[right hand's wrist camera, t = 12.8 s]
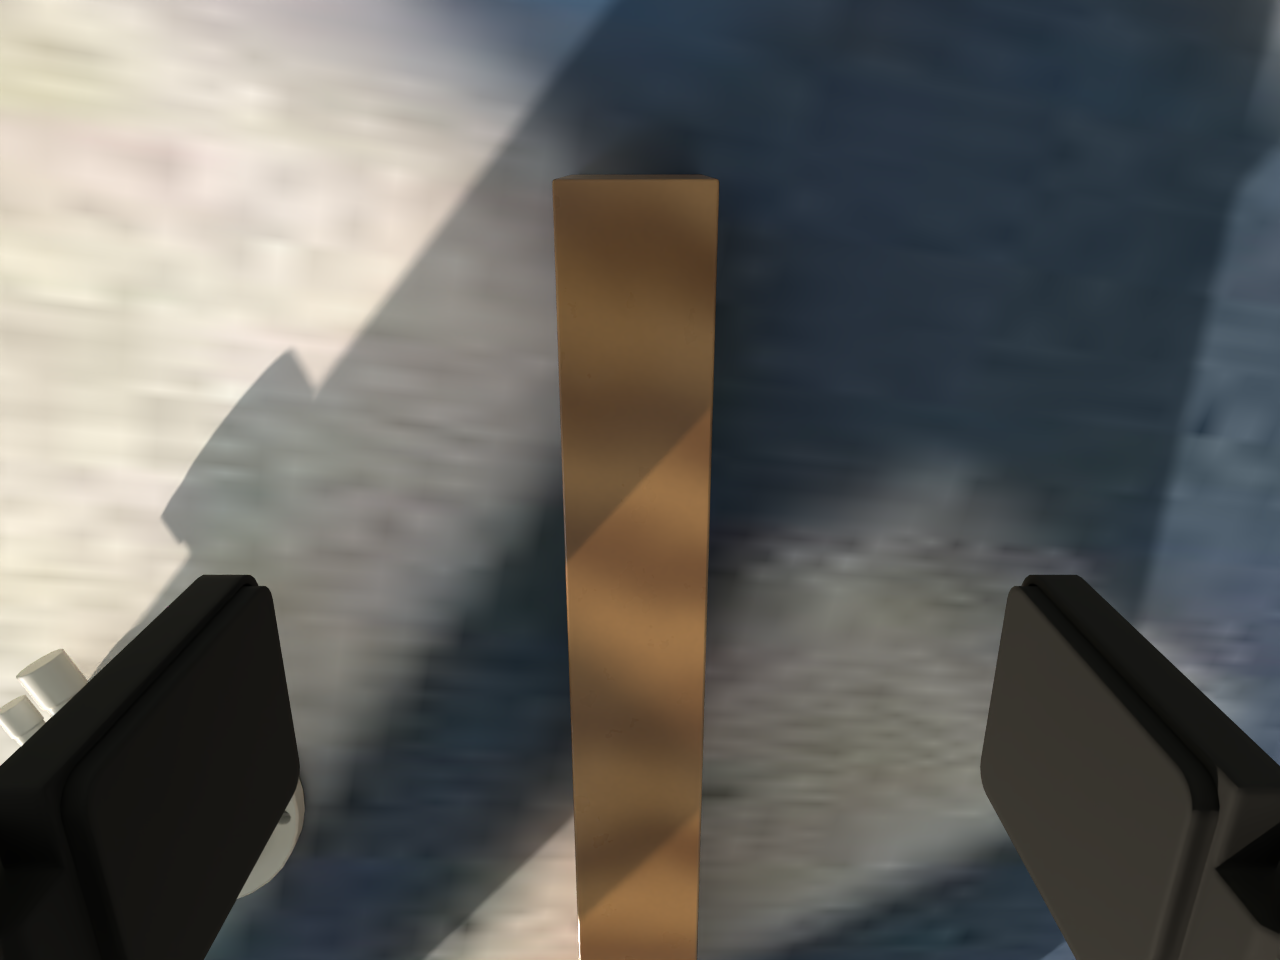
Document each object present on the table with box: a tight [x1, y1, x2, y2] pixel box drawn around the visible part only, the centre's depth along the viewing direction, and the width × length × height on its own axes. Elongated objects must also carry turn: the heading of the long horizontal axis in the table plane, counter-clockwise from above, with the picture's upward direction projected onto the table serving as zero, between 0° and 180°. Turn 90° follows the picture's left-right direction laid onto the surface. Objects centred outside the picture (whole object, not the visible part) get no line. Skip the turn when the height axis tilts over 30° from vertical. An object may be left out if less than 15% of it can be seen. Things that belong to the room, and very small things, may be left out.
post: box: [552, 174, 719, 960], centre depth 40 cm, size 61×5×7 cm, turn 0°
